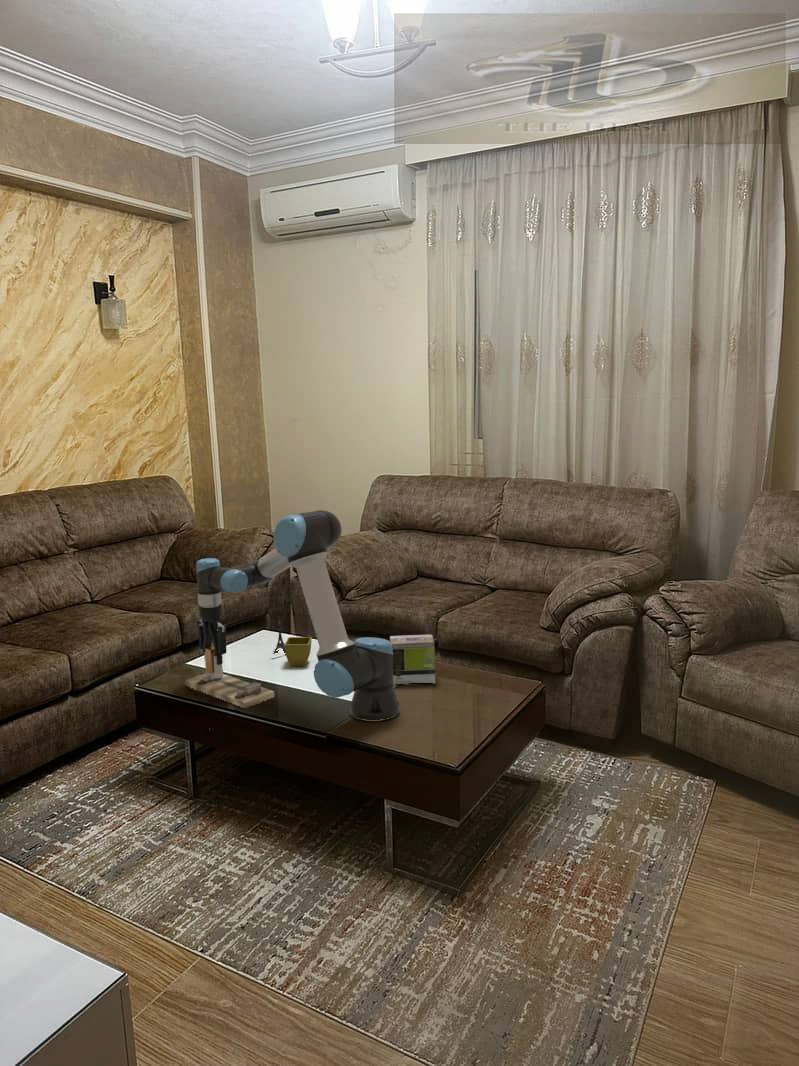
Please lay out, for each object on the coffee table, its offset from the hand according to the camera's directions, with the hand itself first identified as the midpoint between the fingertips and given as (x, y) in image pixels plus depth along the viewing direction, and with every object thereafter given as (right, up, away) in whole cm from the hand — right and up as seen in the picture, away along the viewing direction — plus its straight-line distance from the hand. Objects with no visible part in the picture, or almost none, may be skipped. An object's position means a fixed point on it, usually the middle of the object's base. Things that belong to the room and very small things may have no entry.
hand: (214, 671), depth 262 cm
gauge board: (+6, -6, -6) cm, 10 cm away
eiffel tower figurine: (+17, +1, +35) cm, 39 cm away
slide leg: (-1, -2, -1) cm, 3 cm away
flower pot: (+26, -1, +20) cm, 33 cm away
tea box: (+67, -4, +2) cm, 67 cm away
